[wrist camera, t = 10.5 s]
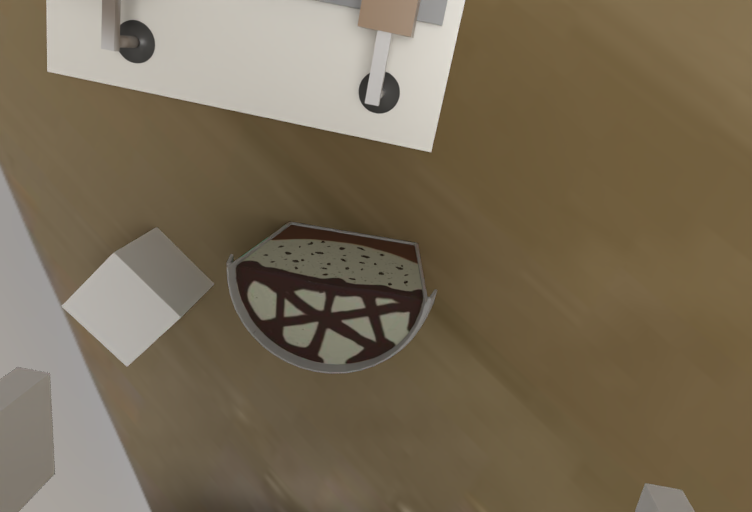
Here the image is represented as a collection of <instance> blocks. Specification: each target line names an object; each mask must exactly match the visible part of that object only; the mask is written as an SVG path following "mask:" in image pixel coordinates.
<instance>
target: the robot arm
mask: <svg viewBox="0 0 752 512" xmlns="http://www.w3.org/2000/svg"><path fill="white" fill-rule="evenodd" d="M54 474H55V464H54V444H53V425H52V405H51V384H50V373H48V372H42V371H37V370H31V369H26V368H21V367H16V368H15V369H14V370H12V371H11V372H10V373H8V374H7V375H5V376H4V377H3V378H1V379H0V512H19V511H20V510H21V509H22V508H23V507H24V506H25V505H26V504H27V503H28V501H29V500H30V499H31V498H32V497H33V496H34V495H35V494H36V493H37V492H38V491H39V490H40V489H41V488H42V487H43V486H44V485H45V484H46V483H47V482H48V481H49V479H50V478H51V477H52V476H53V475H54ZM635 512H695V511H694V510H693V508H692V506H691V505H690V503H689V501H688V499H687V498H686V496H685V494H684V492H683V491H682V490H679V489H674V488H669V487H663V486H658V485H652V484H647V483H645V485H644V488H643V491H642V493H641V496H640V499H639V502H638V505H637V507H636V510H635Z"/></svg>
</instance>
